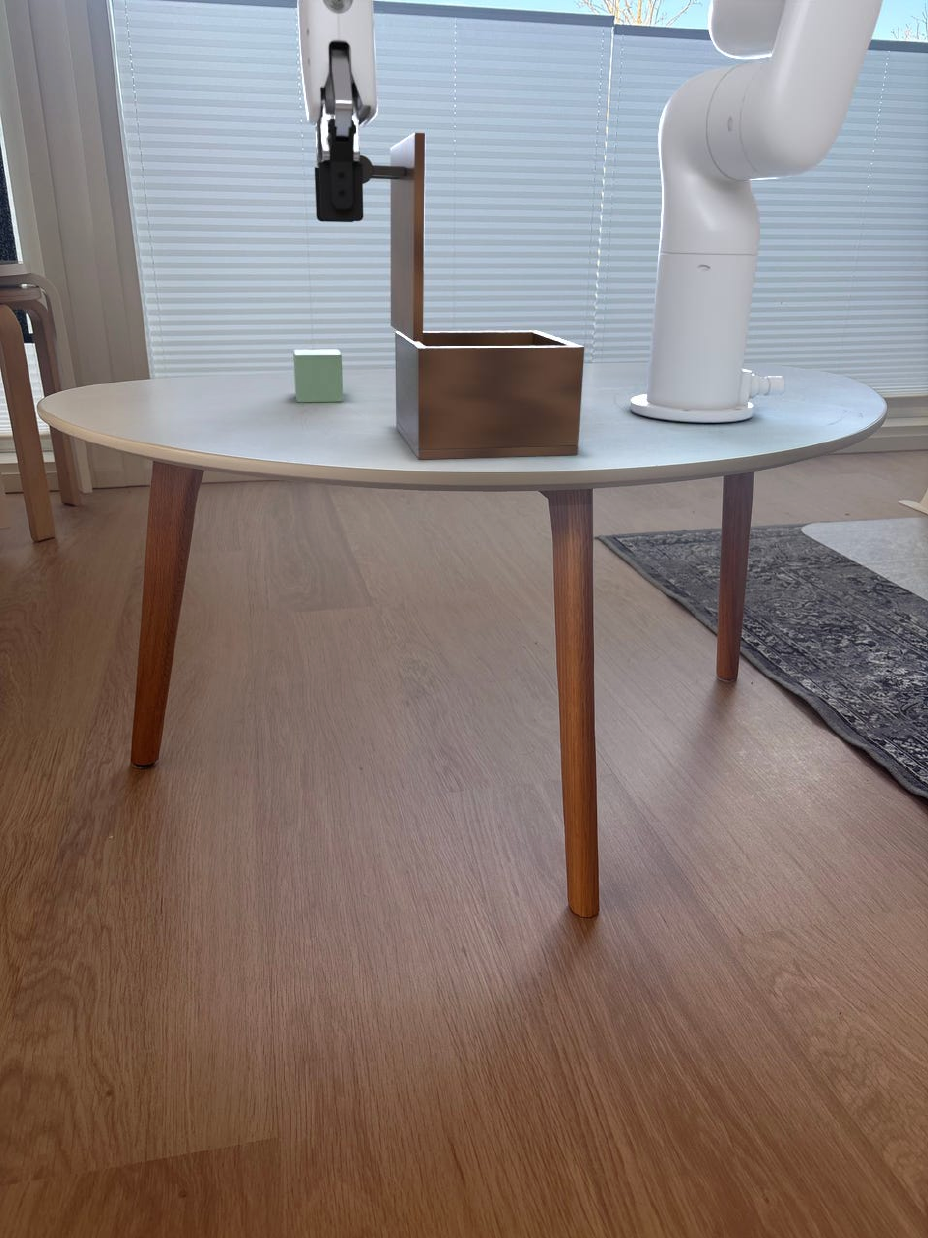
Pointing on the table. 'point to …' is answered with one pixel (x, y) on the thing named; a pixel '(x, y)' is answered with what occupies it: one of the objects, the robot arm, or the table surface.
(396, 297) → the chest lid
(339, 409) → the table surface
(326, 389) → the block
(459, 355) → the chest
